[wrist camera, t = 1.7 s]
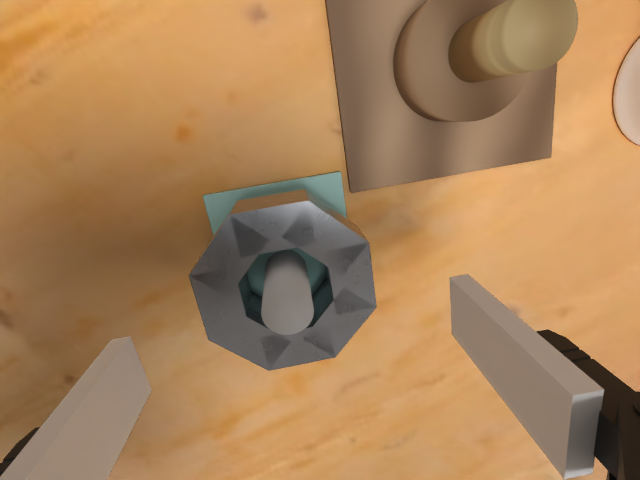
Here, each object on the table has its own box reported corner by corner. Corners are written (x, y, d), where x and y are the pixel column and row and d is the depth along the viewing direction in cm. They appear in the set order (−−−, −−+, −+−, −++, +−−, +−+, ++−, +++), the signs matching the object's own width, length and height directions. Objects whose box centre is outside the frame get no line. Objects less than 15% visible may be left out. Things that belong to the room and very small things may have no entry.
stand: (236, 314, 26) (214, 408, 17) (203, 194, 23) (158, 238, 14) (356, 291, 26) (391, 372, 18) (339, 171, 23) (373, 199, 15)
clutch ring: (228, 347, 22) (221, 380, 19) (188, 209, 19) (172, 224, 16) (368, 319, 23) (381, 348, 20) (351, 180, 20) (363, 190, 17)
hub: (350, 191, 24) (385, 227, 16) (317, -60, 19) (343, -188, 11) (547, 157, 25) (675, 174, 17) (561, -94, 20) (750, -238, 12)
